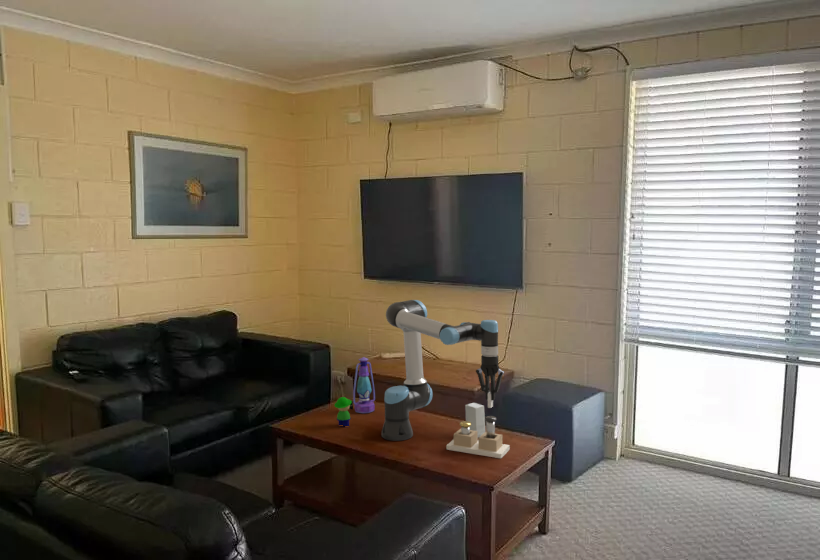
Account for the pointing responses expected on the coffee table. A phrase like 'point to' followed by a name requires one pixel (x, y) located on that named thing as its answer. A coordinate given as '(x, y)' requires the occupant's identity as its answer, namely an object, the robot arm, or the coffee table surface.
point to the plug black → (490, 426)
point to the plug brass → (465, 427)
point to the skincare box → (476, 417)
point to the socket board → (478, 444)
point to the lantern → (364, 388)
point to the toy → (343, 410)
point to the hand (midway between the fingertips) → (490, 407)
